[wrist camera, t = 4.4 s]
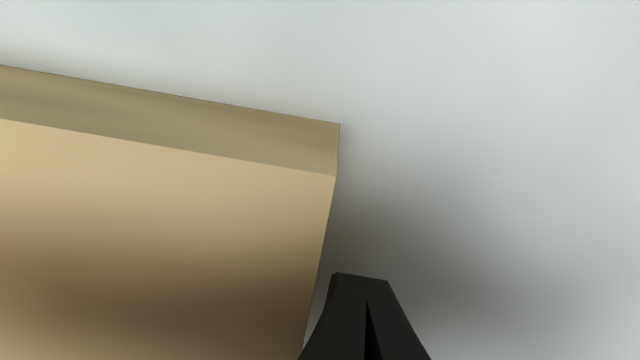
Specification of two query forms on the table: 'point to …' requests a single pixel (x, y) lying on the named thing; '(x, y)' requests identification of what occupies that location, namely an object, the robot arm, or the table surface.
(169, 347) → the oak slab
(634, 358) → the table surface
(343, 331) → the robot arm
